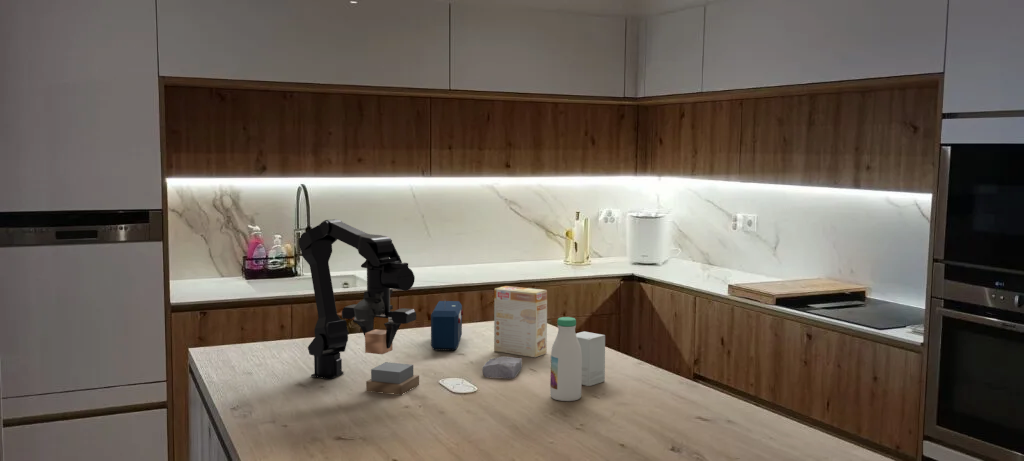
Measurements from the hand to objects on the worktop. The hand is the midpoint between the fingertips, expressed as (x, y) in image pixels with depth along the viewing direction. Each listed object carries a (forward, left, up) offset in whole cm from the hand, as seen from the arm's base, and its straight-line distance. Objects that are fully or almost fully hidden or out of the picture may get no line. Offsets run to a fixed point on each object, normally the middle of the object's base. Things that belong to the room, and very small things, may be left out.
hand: (379, 347), depth 217 cm
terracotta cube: (0, 0, -1) cm, 1 cm away
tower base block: (+2, +3, -12) cm, 12 cm away
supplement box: (+47, +27, -11) cm, 56 cm away
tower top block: (+2, +3, -9) cm, 9 cm away
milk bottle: (+46, +11, -11) cm, 49 cm away
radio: (-5, +53, -11) cm, 54 cm away
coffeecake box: (+20, +51, -11) cm, 56 cm away
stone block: (+23, +27, -12) cm, 38 cm away
